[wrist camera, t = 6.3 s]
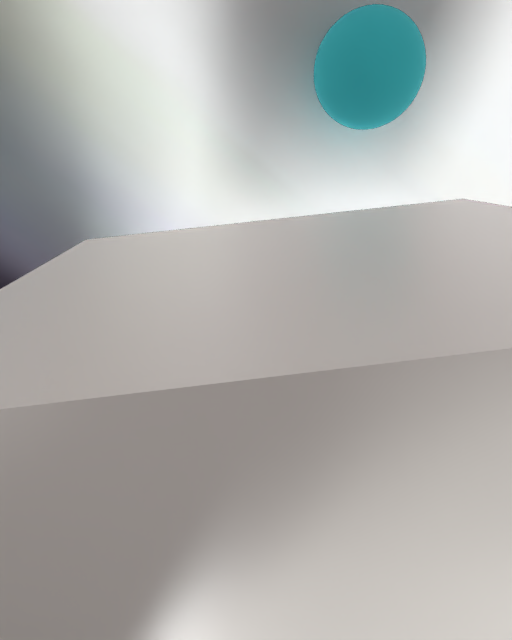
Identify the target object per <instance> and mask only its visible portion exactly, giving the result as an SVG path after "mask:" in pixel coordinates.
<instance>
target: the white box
mask: <svg viewBox="0 0 512 640" xmlns="http://www.w3.org/2000/svg"><path fill="white" fill-rule="evenodd" d="M0 640H512V207H511V206H504V205H498V204H492V203H486V202H480V201H474V200H468V199H456V200H447V201H438V202H428V203H419V204H410V205H401V206H391V207H382V208H373V209H364V210H354V211H345V212H336V213H327V214H317V215H308V216H299V217H289V218H280V219H271V220H262V221H252V222H243V223H234V224H225V225H215V226H206V227H197V228H188V229H178V230H169V231H160V232H151V233H141V234H132V235H123V236H114V237H104V238H95V239H86V240H84V241H83V242H81V243H79V244H77V245H76V246H74V247H72V248H71V249H69V250H67V251H65V252H64V253H62V254H60V255H58V256H57V257H55V258H53V259H52V260H50V261H48V262H46V263H45V264H43V265H41V266H39V267H38V268H36V269H34V270H33V271H31V272H29V273H27V274H26V275H24V276H22V277H20V278H19V279H17V280H15V281H14V282H12V283H10V284H8V285H7V286H5V287H3V288H1V289H0Z"/></svg>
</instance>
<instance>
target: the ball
mask: <svg viewBox="0 0 512 640" xmlns="http://www.w3.org/2000/svg"><path fill="white" fill-rule="evenodd" d="M425 67H426V52H425V46H424V41H423V38H422V35H421V33H420V31H419V29H418V27H417V26H416V24H415V23H414V22H413V21H412V19H411V18H410V17H409V16H407V15H406V14H405V13H404V12H402V11H400V10H399V9H397V8H394V7H392V6H387V5H383V4H372V5H366V6H362V7H359V8H356V9H354V10H352V11H350V12H348V13H347V14H345V15H344V16H343V17H341V18H340V19H339V20H338V21H337V22H336V23H335V24H334V25H333V26H332V27H331V28H330V29H329V31H328V32H327V34H326V35H325V37H324V39H323V40H322V42H321V44H320V47H319V49H318V52H317V55H316V59H315V65H314V84H315V90H316V93H317V97H318V99H319V101H320V103H321V105H322V107H323V108H324V110H325V111H326V112H327V114H328V115H329V116H330V117H331V118H333V119H334V120H335V121H337V122H338V123H340V124H342V125H344V126H346V127H349V128H353V129H373V128H377V127H380V126H383V125H385V124H387V123H389V122H391V121H393V120H394V119H396V118H397V117H398V116H400V115H401V114H402V113H403V112H404V111H405V110H406V109H407V108H408V106H409V105H410V104H411V103H412V101H413V100H414V98H415V97H416V95H417V93H418V91H419V89H420V86H421V84H422V81H423V77H424V73H425Z"/></svg>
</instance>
